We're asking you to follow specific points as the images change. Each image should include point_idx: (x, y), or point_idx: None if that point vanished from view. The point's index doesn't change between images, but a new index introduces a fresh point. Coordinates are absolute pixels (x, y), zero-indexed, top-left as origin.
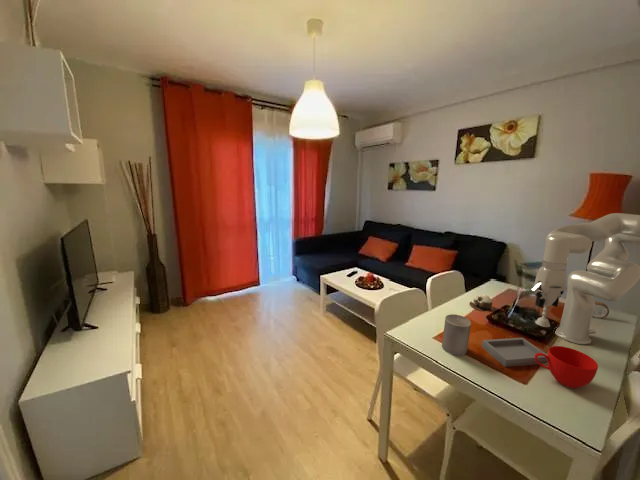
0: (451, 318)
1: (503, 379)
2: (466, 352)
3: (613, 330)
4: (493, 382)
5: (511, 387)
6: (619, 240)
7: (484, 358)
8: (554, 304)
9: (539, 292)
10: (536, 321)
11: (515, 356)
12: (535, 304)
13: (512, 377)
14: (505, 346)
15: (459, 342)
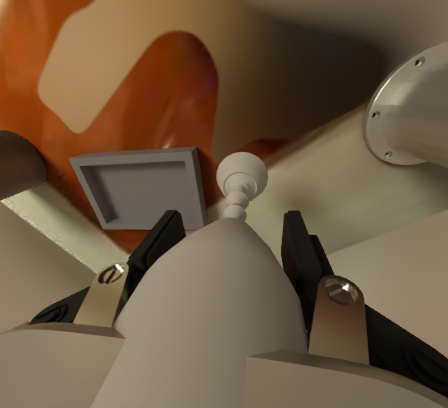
0: None
1: (100, 243)
2: (42, 180)
3: None
4: (83, 246)
5: (106, 256)
6: None
7: (81, 195)
8: (283, 253)
9: (104, 320)
10: (221, 168)
11: (142, 203)
12: (167, 211)
13: (116, 241)
14: (136, 167)
15: None
